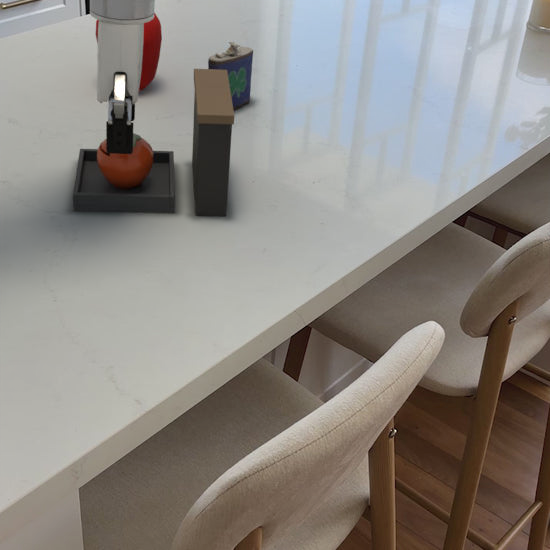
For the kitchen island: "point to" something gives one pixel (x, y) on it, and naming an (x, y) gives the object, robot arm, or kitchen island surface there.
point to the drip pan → (105, 197)
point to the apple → (148, 50)
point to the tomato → (126, 164)
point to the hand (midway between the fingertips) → (121, 135)
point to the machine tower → (211, 141)
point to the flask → (236, 72)
